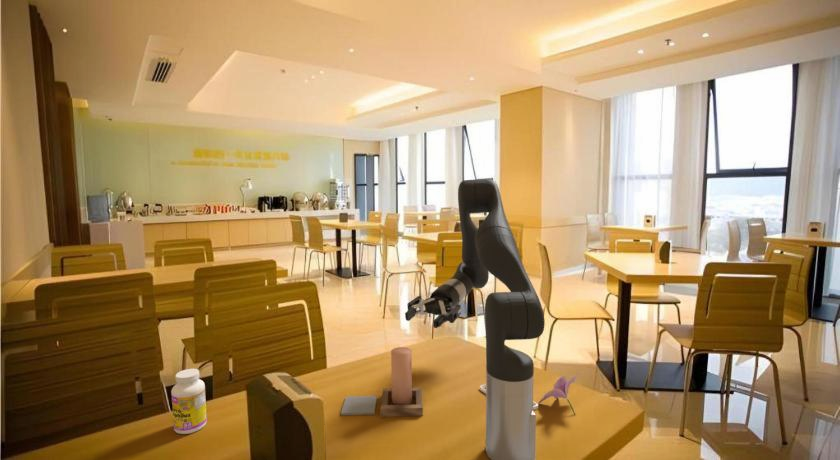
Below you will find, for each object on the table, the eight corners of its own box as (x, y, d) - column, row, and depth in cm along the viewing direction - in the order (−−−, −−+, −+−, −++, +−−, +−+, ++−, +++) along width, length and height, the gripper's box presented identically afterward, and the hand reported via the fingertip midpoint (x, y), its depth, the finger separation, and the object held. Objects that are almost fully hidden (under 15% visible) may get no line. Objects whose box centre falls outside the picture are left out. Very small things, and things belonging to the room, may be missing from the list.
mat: (377, 397, 108) (377, 395, 108) (374, 414, 100) (374, 412, 100) (345, 398, 108) (345, 396, 108) (340, 415, 100) (340, 413, 100)
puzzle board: (421, 394, 109) (421, 387, 109) (422, 415, 99) (422, 407, 99) (383, 395, 109) (383, 388, 109) (380, 416, 99) (380, 408, 99)
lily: (584, 402, 107) (567, 365, 109) (604, 408, 96) (585, 366, 98) (541, 420, 105) (525, 382, 108) (556, 428, 94) (538, 385, 97)
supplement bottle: (166, 432, 93) (162, 377, 92) (190, 417, 100) (187, 365, 98) (190, 437, 91) (186, 381, 90) (213, 421, 98) (210, 368, 96)
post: (412, 400, 107) (411, 346, 105) (412, 410, 102) (411, 354, 100) (392, 400, 107) (391, 347, 105) (391, 410, 102) (390, 355, 100)
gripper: (427, 279, 125) (396, 302, 112) (470, 288, 118) (444, 314, 105) (428, 302, 127) (398, 327, 114) (471, 312, 120) (445, 340, 107)
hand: (420, 321), depth 109 cm, fingers open, 8 cm apart
